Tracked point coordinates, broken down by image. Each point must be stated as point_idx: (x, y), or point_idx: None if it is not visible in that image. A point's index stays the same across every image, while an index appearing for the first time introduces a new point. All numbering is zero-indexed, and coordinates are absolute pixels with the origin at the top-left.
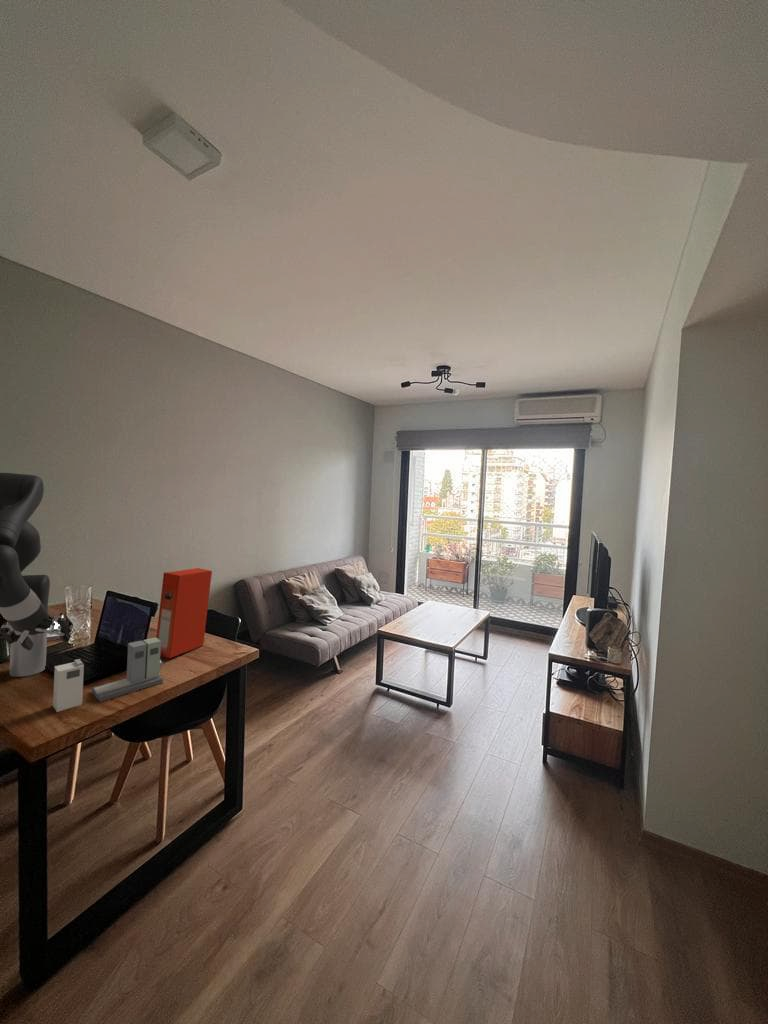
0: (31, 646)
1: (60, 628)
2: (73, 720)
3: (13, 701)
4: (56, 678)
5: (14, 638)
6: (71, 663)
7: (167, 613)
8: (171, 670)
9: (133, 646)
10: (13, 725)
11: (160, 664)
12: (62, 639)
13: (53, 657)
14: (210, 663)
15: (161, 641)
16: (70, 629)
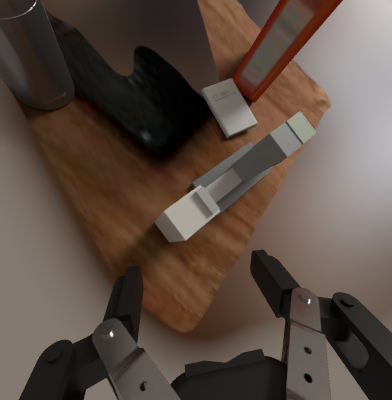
0: (141, 283)
1: (294, 309)
2: (204, 267)
3: (80, 200)
4: (172, 229)
5: (85, 387)
6: (190, 197)
7: (300, 15)
8: (264, 135)
9: (286, 152)
10: None
11: (254, 125)
12: (265, 295)
13: (65, 42)
14: None
15: (252, 70)
16: (352, 336)
